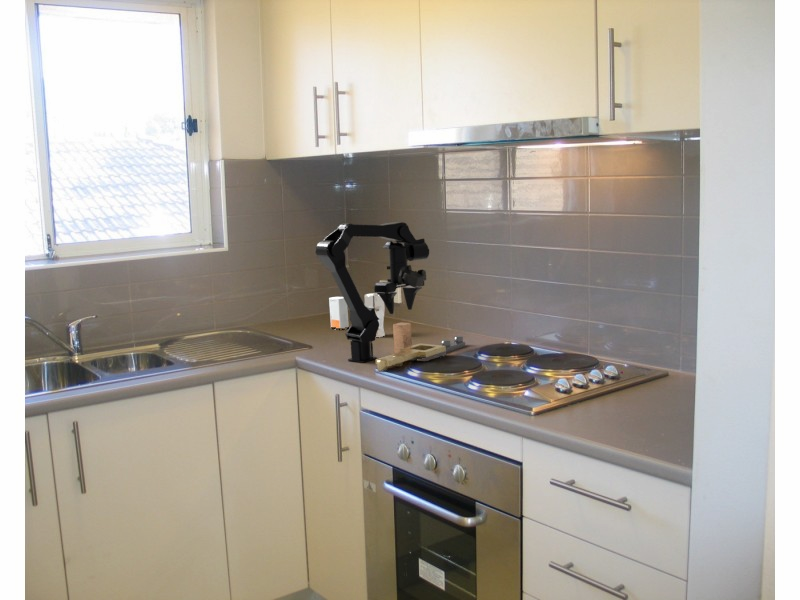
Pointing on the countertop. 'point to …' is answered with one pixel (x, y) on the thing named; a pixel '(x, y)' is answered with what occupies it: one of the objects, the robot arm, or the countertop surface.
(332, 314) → the skincare box
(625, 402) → the countertop surface
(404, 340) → the reddish tan block
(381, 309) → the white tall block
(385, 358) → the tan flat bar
